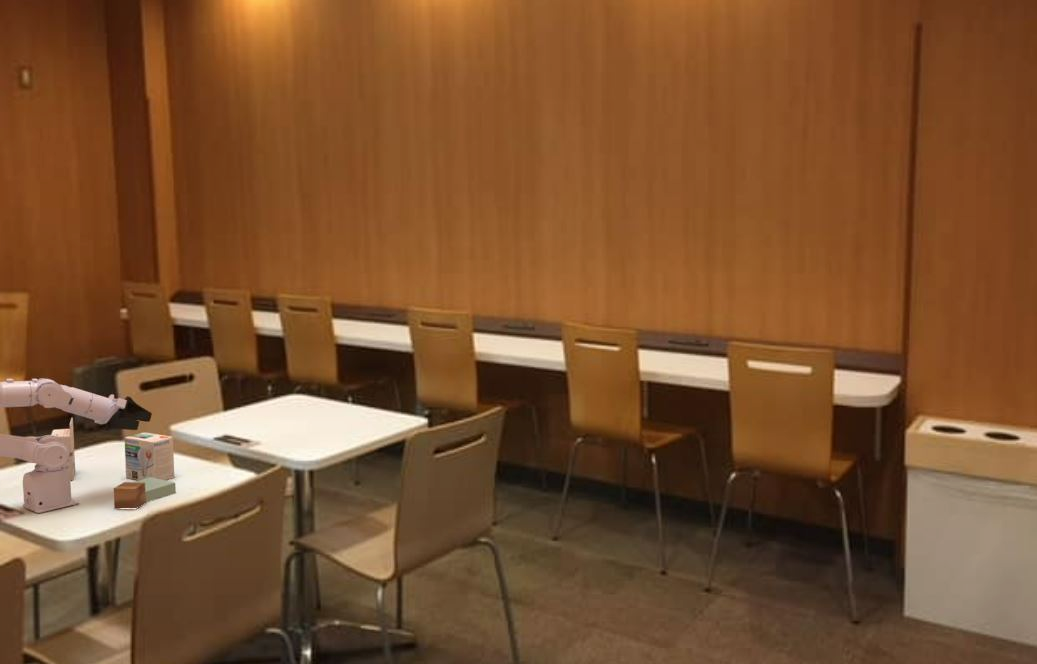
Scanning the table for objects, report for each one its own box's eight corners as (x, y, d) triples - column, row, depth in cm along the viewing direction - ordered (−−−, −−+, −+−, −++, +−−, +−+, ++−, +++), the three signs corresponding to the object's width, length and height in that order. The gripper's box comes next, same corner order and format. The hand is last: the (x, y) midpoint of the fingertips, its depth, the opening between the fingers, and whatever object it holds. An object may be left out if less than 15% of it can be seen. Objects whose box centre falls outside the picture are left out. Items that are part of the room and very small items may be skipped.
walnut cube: (135, 510, 216) (134, 488, 215) (114, 509, 217) (113, 488, 216) (146, 503, 221) (145, 482, 220) (125, 502, 221) (124, 482, 221)
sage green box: (144, 504, 221) (144, 492, 221) (119, 498, 226) (118, 486, 225) (175, 494, 229) (175, 482, 229) (150, 488, 233) (150, 477, 233)
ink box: (55, 473, 245) (51, 418, 243) (76, 472, 247) (73, 416, 245) (52, 482, 237) (48, 425, 235) (74, 480, 239) (70, 423, 237)
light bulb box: (125, 478, 241) (122, 437, 240) (146, 472, 247) (144, 431, 246) (154, 484, 236) (152, 441, 235) (175, 477, 242) (174, 436, 241)
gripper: (103, 380, 218) (160, 398, 226) (81, 398, 228) (136, 414, 235) (95, 408, 215) (153, 425, 222) (73, 425, 224) (129, 441, 232)
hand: (144, 421), depth 229 cm, fingers open, 7 cm apart
